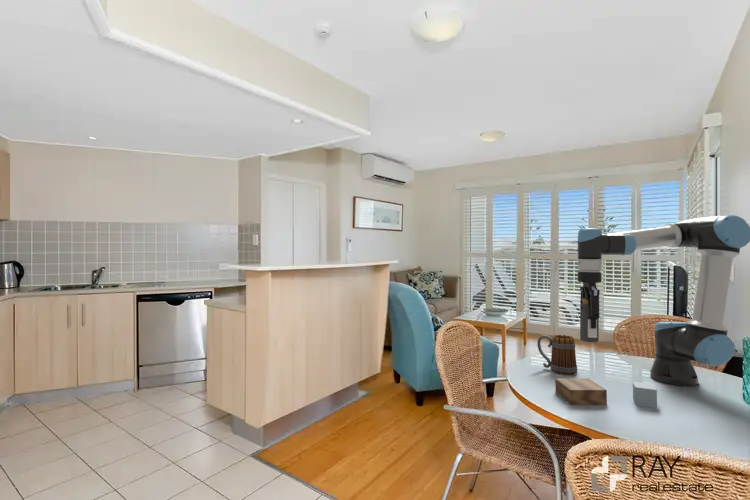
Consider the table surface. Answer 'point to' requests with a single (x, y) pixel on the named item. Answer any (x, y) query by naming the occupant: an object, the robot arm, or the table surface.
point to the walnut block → (581, 391)
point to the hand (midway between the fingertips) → (589, 335)
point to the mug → (560, 354)
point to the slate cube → (645, 394)
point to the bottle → (586, 323)
